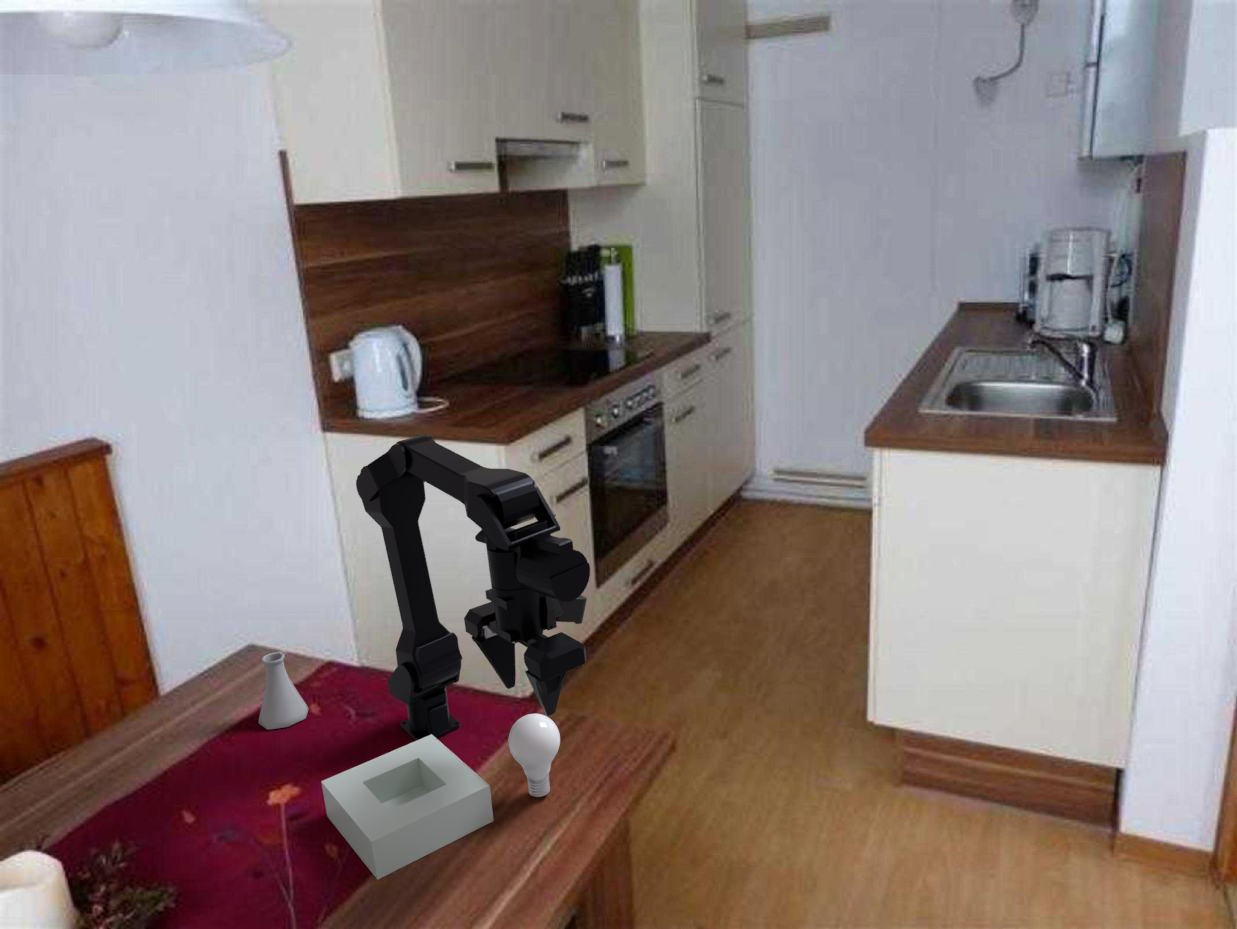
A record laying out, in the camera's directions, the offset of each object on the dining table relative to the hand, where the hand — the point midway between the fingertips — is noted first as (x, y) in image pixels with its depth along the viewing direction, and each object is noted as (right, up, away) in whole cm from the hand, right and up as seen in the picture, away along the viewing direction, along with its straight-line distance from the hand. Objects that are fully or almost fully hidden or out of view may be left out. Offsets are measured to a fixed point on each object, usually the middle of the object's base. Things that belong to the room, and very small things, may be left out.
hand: (530, 700), depth 114 cm
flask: (-39, -9, +26) cm, 48 cm away
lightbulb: (+1, -13, +4) cm, 14 cm away
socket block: (-15, -15, +1) cm, 21 cm away
